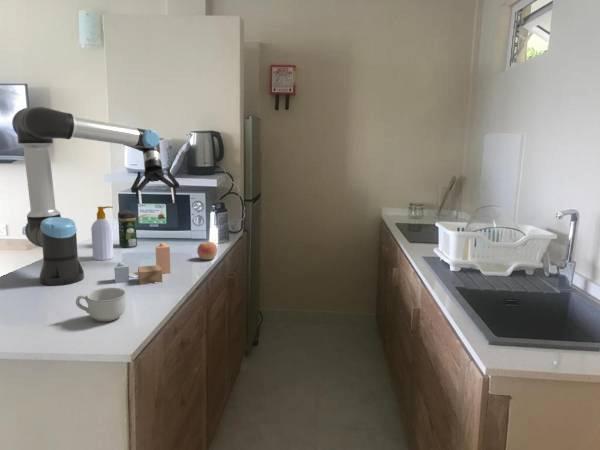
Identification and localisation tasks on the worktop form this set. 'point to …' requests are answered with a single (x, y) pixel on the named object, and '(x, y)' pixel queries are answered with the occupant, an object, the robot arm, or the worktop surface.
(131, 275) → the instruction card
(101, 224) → the soap bottle
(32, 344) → the worktop surface
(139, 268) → the base block
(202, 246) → the apple
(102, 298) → the teacup
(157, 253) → the terracotta brick
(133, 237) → the coffee jar
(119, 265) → the slate brick
